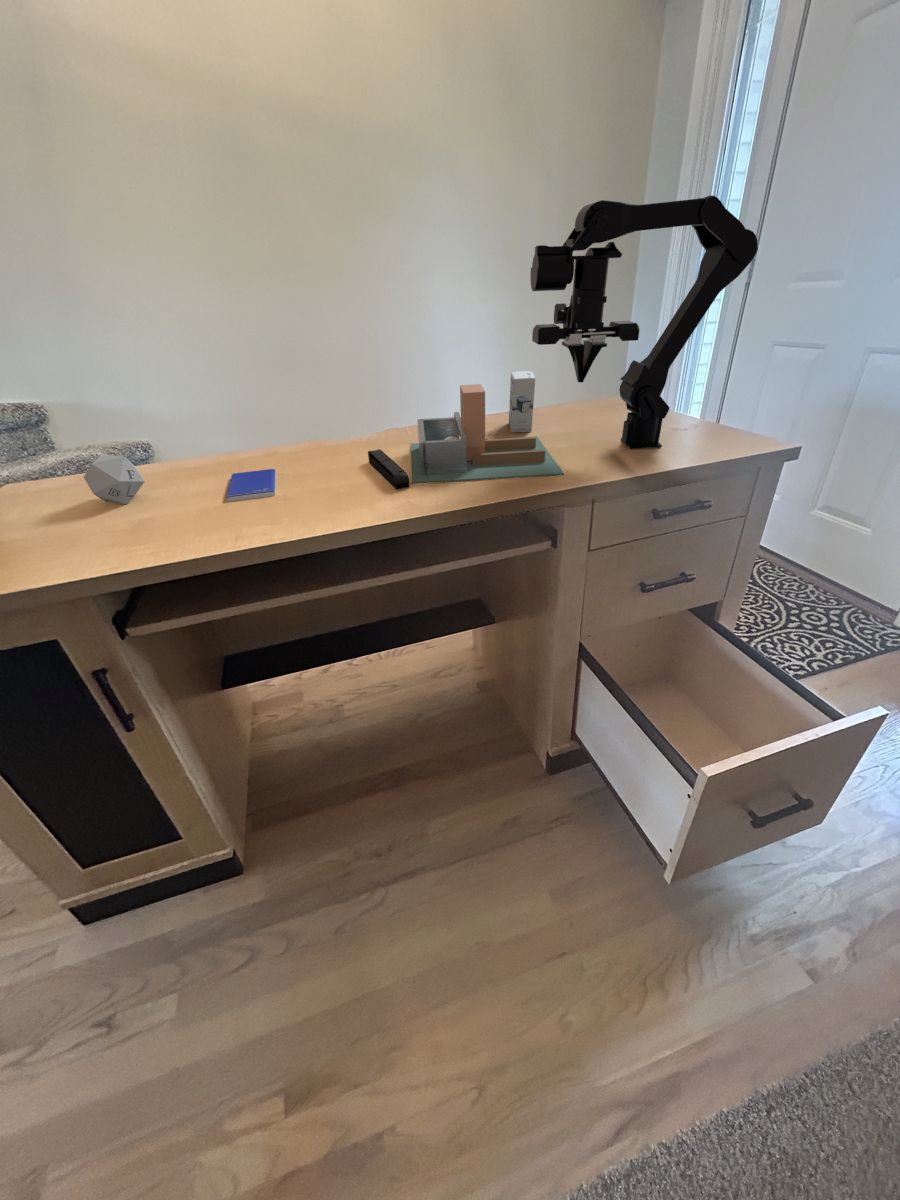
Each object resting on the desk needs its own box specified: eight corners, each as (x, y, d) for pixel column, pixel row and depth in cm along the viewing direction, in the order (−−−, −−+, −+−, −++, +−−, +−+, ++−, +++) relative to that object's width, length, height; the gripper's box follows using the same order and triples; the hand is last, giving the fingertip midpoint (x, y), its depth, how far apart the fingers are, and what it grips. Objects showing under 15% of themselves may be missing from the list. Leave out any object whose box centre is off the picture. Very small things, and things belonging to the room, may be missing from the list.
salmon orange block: (480, 450, 110) (480, 384, 102) (485, 461, 104) (485, 391, 97) (461, 451, 109) (460, 385, 102) (464, 462, 103) (463, 392, 96)
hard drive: (274, 489, 94) (274, 468, 104) (225, 496, 92) (231, 473, 102) (276, 498, 94) (276, 475, 105) (228, 504, 93) (233, 481, 103)
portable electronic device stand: (410, 490, 95) (409, 473, 93) (397, 492, 94) (395, 476, 92) (380, 461, 109) (378, 447, 107) (368, 463, 108) (366, 449, 106)
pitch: (536, 437, 117) (537, 427, 116) (563, 474, 97) (564, 462, 96) (410, 445, 116) (410, 434, 115) (411, 484, 96) (410, 471, 95)
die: (99, 517, 90) (119, 470, 87) (66, 486, 92) (84, 439, 88) (141, 515, 98) (160, 472, 95) (110, 487, 99) (128, 443, 96)
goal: (459, 445, 114) (458, 411, 110) (467, 472, 99) (466, 435, 96) (419, 447, 113) (416, 414, 110) (421, 475, 99) (418, 437, 95)
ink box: (508, 423, 129) (509, 371, 122) (529, 422, 128) (531, 370, 122) (511, 433, 121) (512, 378, 115) (533, 432, 121) (535, 377, 115)
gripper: (624, 285, 102) (613, 372, 110) (528, 289, 101) (524, 376, 109) (646, 288, 92) (632, 382, 101) (541, 292, 92) (536, 387, 100)
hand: (580, 382), depth 103 cm, fingers closed
